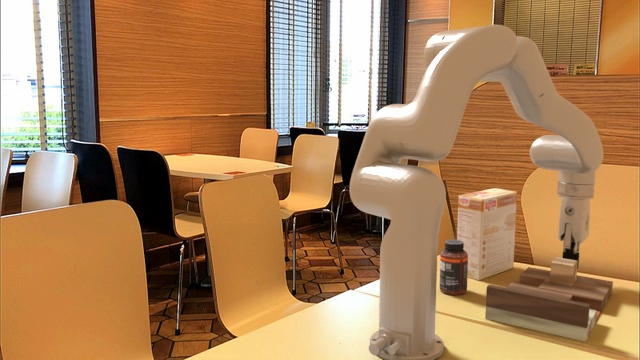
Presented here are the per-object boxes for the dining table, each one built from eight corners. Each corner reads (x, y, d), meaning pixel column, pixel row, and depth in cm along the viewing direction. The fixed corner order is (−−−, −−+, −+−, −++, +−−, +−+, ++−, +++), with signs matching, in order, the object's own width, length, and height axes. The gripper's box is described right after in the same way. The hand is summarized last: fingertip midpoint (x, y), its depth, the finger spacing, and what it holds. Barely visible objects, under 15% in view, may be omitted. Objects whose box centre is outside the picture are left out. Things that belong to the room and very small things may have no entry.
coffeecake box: (490, 261, 147) (493, 187, 144) (514, 268, 141) (519, 191, 138) (454, 273, 137) (457, 194, 134) (479, 281, 132) (482, 198, 129)
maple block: (571, 286, 121) (573, 265, 120) (549, 282, 124) (551, 262, 123) (576, 280, 125) (577, 260, 124) (554, 276, 127) (555, 257, 127)
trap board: (585, 341, 100) (588, 306, 99) (485, 318, 110) (486, 286, 109) (612, 292, 124) (614, 263, 123) (527, 277, 135) (529, 250, 134)
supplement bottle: (464, 287, 128) (466, 238, 126) (468, 296, 122) (471, 245, 120) (437, 286, 129) (439, 237, 127) (440, 295, 123) (442, 244, 121)
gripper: (587, 197, 118) (581, 281, 121) (599, 186, 131) (593, 263, 133) (549, 193, 123) (544, 274, 126) (565, 183, 135) (560, 258, 138)
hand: (569, 268), depth 130 cm, fingers closed
